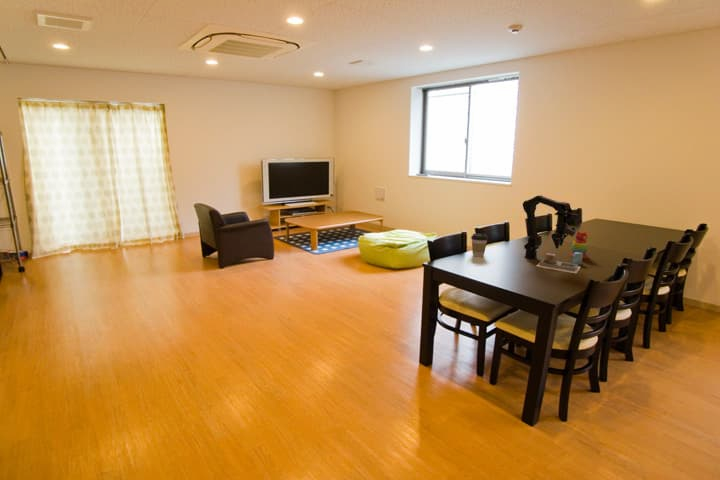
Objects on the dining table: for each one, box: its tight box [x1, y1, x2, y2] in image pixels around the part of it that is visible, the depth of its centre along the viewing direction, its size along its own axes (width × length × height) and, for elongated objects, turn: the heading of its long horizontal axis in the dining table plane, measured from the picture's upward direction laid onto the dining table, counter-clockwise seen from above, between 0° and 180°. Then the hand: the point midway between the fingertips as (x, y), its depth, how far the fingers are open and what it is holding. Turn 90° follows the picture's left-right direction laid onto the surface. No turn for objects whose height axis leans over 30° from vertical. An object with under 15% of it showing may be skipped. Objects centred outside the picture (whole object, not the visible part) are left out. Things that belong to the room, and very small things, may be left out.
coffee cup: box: [470, 232, 489, 258], centre depth 279 cm, size 11×11×15 cm
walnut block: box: [544, 252, 557, 265], centre depth 259 cm, size 5×5×7 cm
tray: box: [536, 258, 581, 274], centre depth 256 cm, size 23×14×2 cm, turn 53°
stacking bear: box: [570, 230, 590, 260], centre depth 277 cm, size 11×10×18 cm
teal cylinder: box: [572, 252, 583, 266], centre depth 263 cm, size 5×5×7 cm
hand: (558, 247), depth 258 cm, fingers open, 9 cm apart
